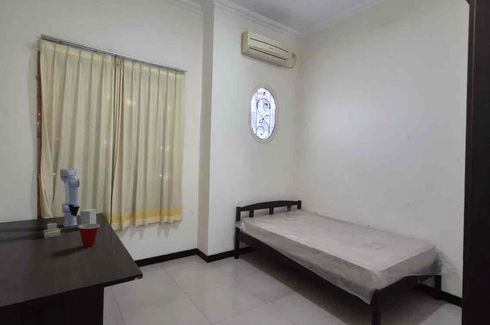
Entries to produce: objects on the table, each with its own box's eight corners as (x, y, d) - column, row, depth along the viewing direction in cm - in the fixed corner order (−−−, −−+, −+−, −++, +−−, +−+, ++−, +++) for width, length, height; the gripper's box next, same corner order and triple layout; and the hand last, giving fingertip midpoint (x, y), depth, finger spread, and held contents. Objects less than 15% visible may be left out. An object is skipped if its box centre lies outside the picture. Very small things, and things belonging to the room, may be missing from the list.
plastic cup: (102, 245, 148) (102, 225, 147) (80, 250, 140) (80, 228, 140) (96, 241, 155) (96, 221, 155) (76, 245, 147) (76, 225, 147)
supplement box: (96, 225, 188) (96, 209, 188) (89, 228, 181) (89, 211, 181) (87, 225, 189) (87, 208, 189) (80, 228, 182) (79, 210, 182)
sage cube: (47, 230, 165) (47, 223, 165) (55, 229, 168) (55, 222, 168) (48, 232, 162) (48, 225, 162) (56, 230, 165) (56, 224, 165)
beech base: (43, 235, 165) (43, 230, 165) (58, 232, 171) (58, 228, 171) (44, 238, 159) (44, 233, 159) (60, 235, 165) (60, 230, 165)
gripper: (65, 195, 181) (65, 214, 181) (68, 198, 170) (68, 218, 171) (76, 194, 186) (76, 213, 186) (80, 197, 175) (80, 216, 176)
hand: (73, 215), depth 179 cm, fingers open, 7 cm apart
